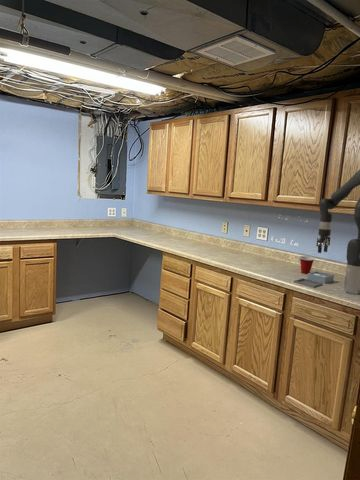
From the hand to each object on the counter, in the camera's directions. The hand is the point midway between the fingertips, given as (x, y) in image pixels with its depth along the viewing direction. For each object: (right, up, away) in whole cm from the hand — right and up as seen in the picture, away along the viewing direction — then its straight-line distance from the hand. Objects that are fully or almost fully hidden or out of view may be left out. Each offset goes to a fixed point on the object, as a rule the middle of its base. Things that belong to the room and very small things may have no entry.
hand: (322, 252), depth 247 cm
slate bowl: (0, -20, +4) cm, 20 cm away
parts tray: (-13, -21, -7) cm, 25 cm away
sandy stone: (+2, -18, +1) cm, 18 cm away
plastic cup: (-4, -17, +24) cm, 29 cm away
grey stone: (0, -17, +2) cm, 18 cm away
